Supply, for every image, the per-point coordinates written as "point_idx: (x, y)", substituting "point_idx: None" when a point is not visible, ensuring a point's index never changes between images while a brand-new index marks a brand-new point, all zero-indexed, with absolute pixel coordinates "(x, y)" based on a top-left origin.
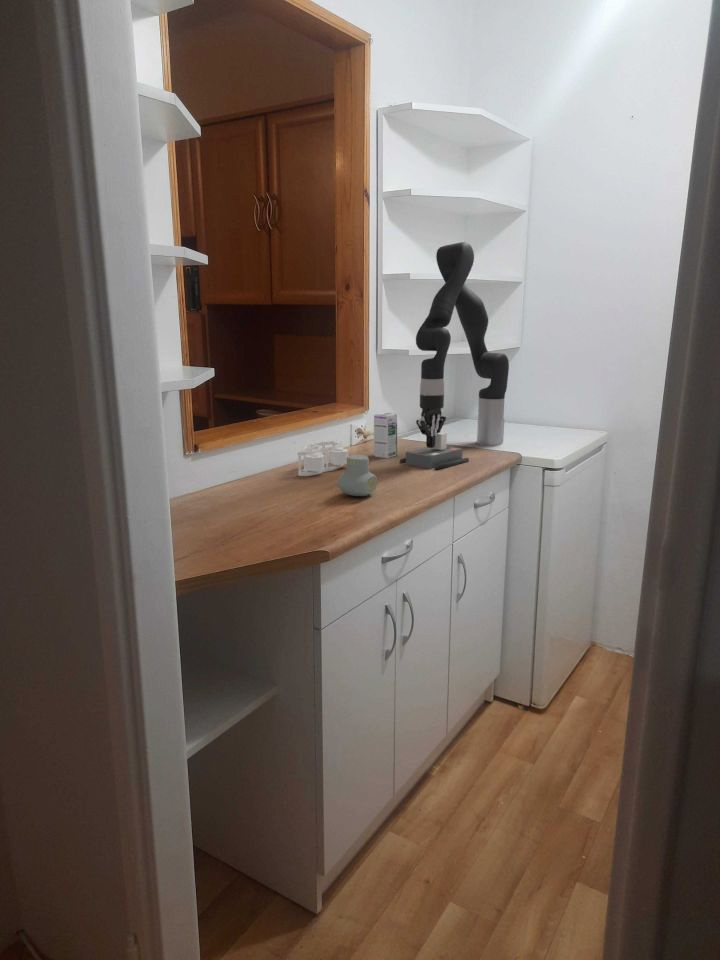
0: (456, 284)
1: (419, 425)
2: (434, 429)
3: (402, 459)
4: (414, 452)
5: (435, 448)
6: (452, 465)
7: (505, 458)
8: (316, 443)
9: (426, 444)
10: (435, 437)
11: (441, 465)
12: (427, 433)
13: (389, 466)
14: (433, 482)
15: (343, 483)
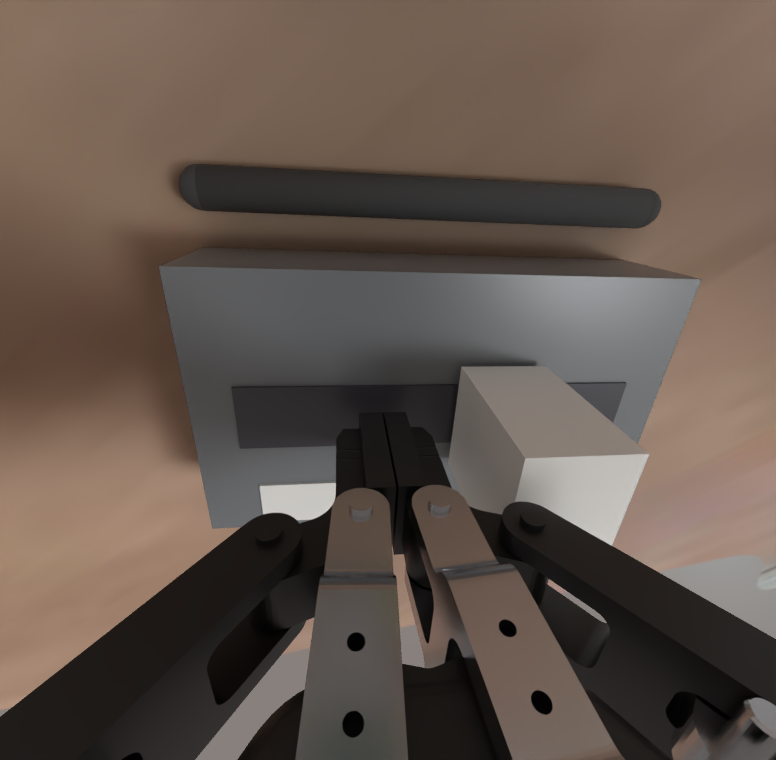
0: None
1: (21, 751)
2: (422, 640)
3: (193, 200)
4: (219, 349)
5: (457, 417)
6: None
7: (720, 545)
8: None
9: (338, 438)
10: (493, 484)
11: None
12: (244, 620)
13: (11, 186)
14: (21, 629)
15: None
